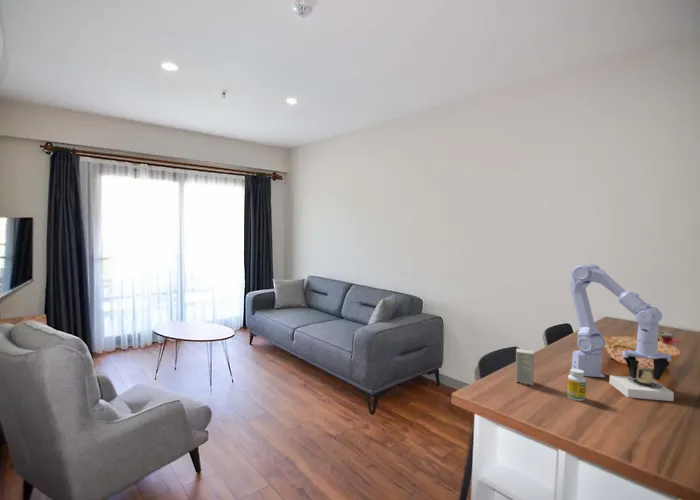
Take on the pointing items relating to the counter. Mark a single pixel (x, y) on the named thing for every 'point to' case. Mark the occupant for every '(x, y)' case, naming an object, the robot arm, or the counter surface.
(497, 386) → the counter surface
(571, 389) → the supplement bottle
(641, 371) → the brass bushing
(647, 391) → the plate
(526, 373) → the skincare box
